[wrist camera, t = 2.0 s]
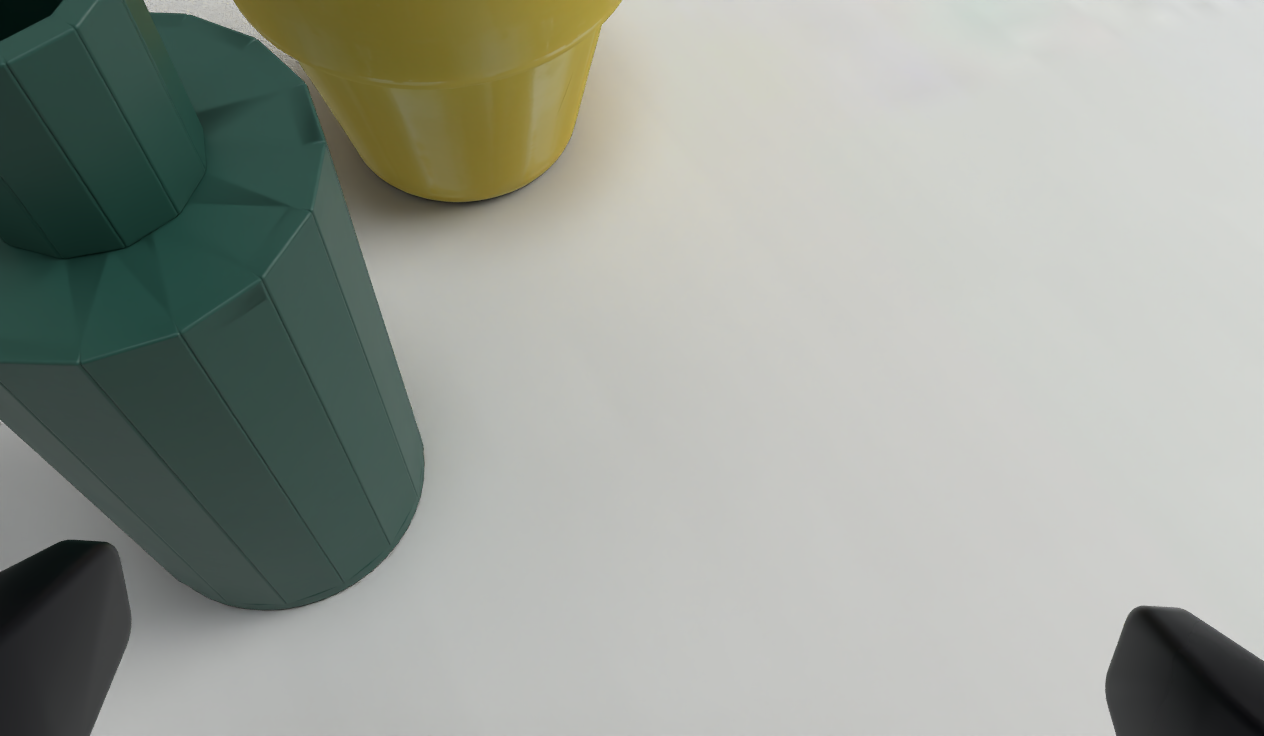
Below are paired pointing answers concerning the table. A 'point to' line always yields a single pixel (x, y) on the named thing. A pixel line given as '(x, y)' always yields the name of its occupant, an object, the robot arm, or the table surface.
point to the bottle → (194, 304)
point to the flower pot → (445, 83)
